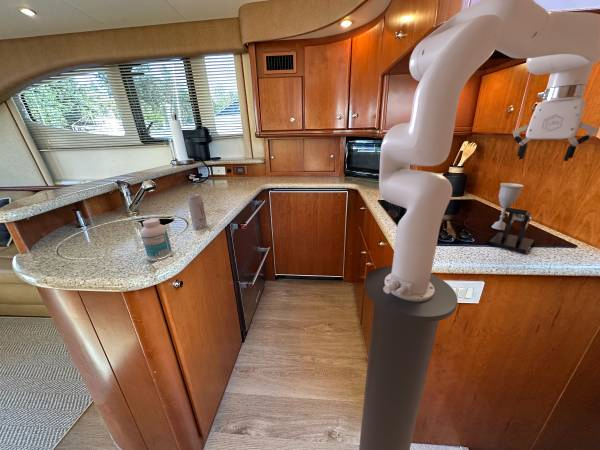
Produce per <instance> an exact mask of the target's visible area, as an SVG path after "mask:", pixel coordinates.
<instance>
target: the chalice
mask: <svg viewBox="0 0 600 450" xmlns="http://www.w3.org/2000/svg"><path fill="white" fill-rule="evenodd" d="M523 187H524V185H523V184H519V183H515V182H514V183H512V182H501V183H500V188H499V193H498V202H499V205H500V207H501V208H502V210H501V212H500V215H499V220H498V221H495V222H494V223H493V224H492V225H491V228H492V229H495V230H499V231H504V229H505V226H506V222H504V219H505V218H506V216H505V215H506V214H507V212H505V210H506V207H508V208H511V207H512V206H513V205H514V204H515V203H516V201H517V200H518V198H519V196H520V193H521V189H522V188H523Z"/></svg>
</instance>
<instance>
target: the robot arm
mask: <svg viewBox="0 0 600 450" xmlns="http://www.w3.org/2000/svg"><path fill="white" fill-rule="evenodd" d="M495 51H497V52H499V53H502V54H503V55H505V56H508V57H509V58H511V59H526V62H525V67H526V69H527V71H528V72H529V73H531V74H532V75H535V76H541V75H547V74H549V78H548V81H547V86H546V88H545V90H544V91H543V92H539V93H537V96H536V99H541V100H542V101H540V102H538V103H537V105H536V106H535V109H534V111H533V113H532V115H531V118H530V121H529V123H528V124H527V125H523V126H521V127H519V128H516V129H514V130H513V131H511V134H512V136H513V139H514V141H515V142H516V143H517V145H518V146H519V148H518V152H517V155H516V156H517V157H518V160H523V159H525V156H526V153H527V149H528V145H527V144H528V143H529V142H531V141H532V140H567V141H568V142H569V144H570V145H569V146H568V147H567V149H566V152H565V154H564V158H563V161H564V162H568V161H569V159H573V157H574V155H575V152H576V150H577V149H576V148H577V146H580V145H581V144H583V143H585V142H586V141H588V140H589V139H591V138H592V137H593V136H594V135H595V134H596V133H598V131H599V128H598V127H596V126H593V125H591V124H588V123H585V122H583V121H582V120H583V117H584V112H585V106H586V98H584V94H585V90H586V88H587V85H588V82H589V79H590V76H591V74H592V71H593V69H594V65H595V64H598V63H599V62H600V14H599V13H595V12H586V11H585V12H583V11H582V12H581V11H579V12H577V11H574V12H573V11H549V10H547V9H546V8H544V7H543V6H541V5H540V4H539V3H537V2H536V1H535V0H480V1H478V2H476V3H474V4H472V5H469V6H468V7H465V8H463V9H461V10H460V11H458V12H457V13H456V14H454V15H453V16H451V17H450V18H449V19H448V20H446V21H445V22H444V23H443V24H441V25H440V26H439V27H437V28H436V29H435V30H433V31H432V32H431V33H430V34H428V35H427V36H426V37H424V38H423V39H421V41H420V42H419V43H418V44H416V46H415V47H414V49H413V50H412V53H411V55H410V57H409V63H408V65H409V66H408V67H409V72H410V75H411V77H412V78H413V79H414V80H415V81H417V82H419V83H418V85H417V86H416V89H415V91H414V94H413V98H412V104H411V105H412V106H411V113H410V119H409V122H402V123H398V124H395V125H393V126H392V127H390V128H389V130H387V132H386V133H385V135H384V136H383V138H382V141H381V146H380V153H379V154H380V155H379V172H378V173H379V174H378V189H379V194H380V196H381V197H382V199H383V200H384V201H385V202H388V203H390V204H393V205H395V206H399V207H401V208H404V209H406V211H405V214H404V215H403V216H402V217H401V219H399V221H398V223H397V226H396V231H395V232H396V233H395V242H394V248H393V258H392V265H391V266H392V273H391V274H389V275H387V276H386V278H385V282H384V284H385V286H384V287H383V290H384V292H385V293H387V294H388V293H390V292H391V293H392V294H393V295H395V296H397V297H399V298H402V299H404V300H408V301H416V302H420V301H426V300H429V299H431V298H432V297H433V295H434V291H435V289H434V286H433V285H432V284H431V283H430V282H429V281H430V276H431V274H432V271H433V267H434V266H433V265H434V260H435V255H436V250H437V245H438V240H439V235H440V231H441V230H440V229H441V226H442V223H441V222H442V219H443V220H444V215H445V213H446V210H447V209H448V206H449V204H450V201H451V199H452V194H453V184H452V183H451V181H450V180H449V179H448V178H447V177H446V176H444V175H442V174H440V173H437V172H433V171H426V170H419V169H411V165H412V166H420V167H435V166H439V165H441V164H443V163H444V162H445V161H446V160H447V159H448V157H449V155H450V152H451V148H452V143H453V138H454V132H455V126H456V118H457V113H458V107H459V103H460V102H459V101H460V97H461V94H462V92H463V89H464V88H465V86H466V84H467V83H468V81H469V80H470V78H471V77H472V76H473V74H475V72H476V71H477V70H478V69H479V68H480V67H481V66H482V65H483V64H485V62H487V61H488V60H489V58H491V56H492V55H493V53H494V52H495ZM579 129H582V130H585V131H587V133H586V134H585V135H584V136H582V137H580V138H576V136H577V134H578V132H579ZM525 131H526V133H525V138H524V139H523V138H522V137H521V135H520V134H521V133H522V132H525Z"/></svg>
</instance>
